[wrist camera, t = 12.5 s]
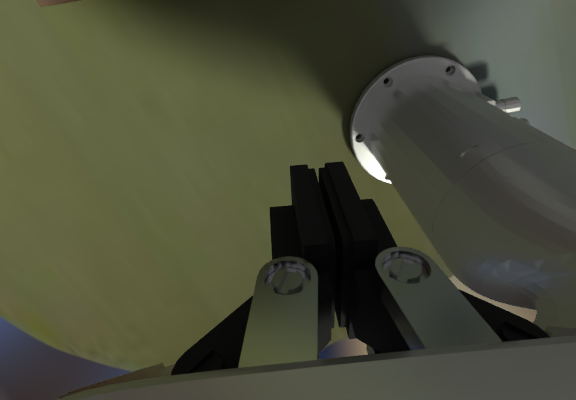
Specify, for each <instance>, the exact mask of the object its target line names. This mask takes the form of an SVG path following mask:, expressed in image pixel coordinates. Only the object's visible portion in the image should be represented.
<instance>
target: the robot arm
mask: <svg viewBox="0 0 576 400" xmlns="http://www.w3.org/2000/svg"><path fill="white" fill-rule="evenodd" d="M447 67H448V70H447V71H446V69H447ZM385 78H387V82H385V83H383V81H384V80H385ZM520 107H521V102H520V100H519V98H518V97H511V98H506V99H501V100H499V101H494V100H493V99H491V98H489V97H487V96H485V95H483V94H482V92H481V88H480V86H479V84H478V82H477V80H476V78H475V77H474V76H473V75H472V74H471V72H470V71H469V70H468V69H467V68H465V67H464V66H462V65H461V64H459V63H458V62H455V61H453V60H451V59H448V58H444V57H440V56H436V55H421V56H416V57H411V58H407V59H405V60H402V61H400V62H397V63H395V64H393V65H392V66H390V67H388V68H387V69H385V70H383V71H382V72H381V73H380V74H379V75H378V76H376V77H375V78H374V79H373V80H372V81H371V82H370V83H369V85H368V86H367V87H366V88H365V89H364V91H363V92H362V94H361V96H360V97H359V99H358V101H357V102H356V105H355V107H354V110H353V113H352V116H351V122H350V127H349V129H350V142H351V147H352V150H353V152H354V154H355V157H356V159H357V160H358V162H359V163H360V165H361V166H362V168H363V169H364V170H365V171H366V172H367V173H368V174H370V175H371V176H373V177H374V178H376V179H378V180H380V181H383V182H385V183H390V184H393V186H394V187H395V189H396V190H397V192H398V193H399V195H400V197H401V198H402V200H403V201H404V203H405V204H406V206H407V207H408V209H409V210H410V212H411V213H412V215H413V216H414V218H415V219H416V221H417V222H418V224H419V225H420V227H421V228H422V230H423V231H424V233H425V234H426V236H427V237H428V239H429V240H430V242H431V243H432V245H433V247H434V248H435V250H436V251H437V253H438V254H439V255H440V257H441V258H442V260H443V261H444V263H445V264H446V266H447V267H448V268H449V269H450V271H451V272H452V273H453V274H454V276H455V277H456V278H457V279H458V280H459V281H461V282H462V283H463V284H464V285H466V286H467V287H468V288H470V289H471V290H473V291H475V292H476V293H478V294H480V295H482V296H485V297H487V298H489V299H492V300H495V301H497V302H501V303H505V304H508V305H512V306H517V307H522V308H527V309H533V310H537V314H536V318H535V320H534V322H533V323H532V322H530V321H528V320H526V319H524V318H522V317H520V316H517V315H515V314H513V313H510V312H508V311H506V310H504V309H502V308H499V307H497V306H495V305H492V304H491V303H488V302H486V301H484V300H482V299H479V298H477V297H474V296H473V295H470V294H468V293H466V292H464V291H461V290H459V289H457V287H456V286H455V285H454V284H453V283H452V282H451V280H450V279H449V278H448V277H447V276H446V275H445V273H444V272H443V271H442V270H441V269H440V268H439V266H438V265H437V264H436V263H435V262H434V260H432V259H431V258H430V257H429V256H428V255H427V254H425V253H423V252H421V251H419V250H416V249H413V248H408V247H397V245H396V243H395V241H394V239H393V237H392V235H391V233H390V231H389V229H388V227H387V225H386V224H385V222H384V220H383V218H382V216H381V214H380V212H379V210H378V208H377V206H376V204H375V202H374V201H373V199H363V200H360V198H359V195H358V193H357V191H356V189H355V187H354V185H353V182H352V180H351V178H350V176H349V174H348V171H347V169H346V167H345V165H344V163H343V162H332V163H325V168H319V183H318V179H317V176H316V173H315V169H314V168H313V169H308V165H294V166H290V177H291V195H292V205H291V206H279V207H270V223H271V243H272V260H271V261H270V262H268V263H266V264H265V265H264V266H263V267H262V268H261V269H260V271H259V273H258V276H257V280H256V284H255V289H254V294H253V296H252V297H251V298H249V299H248V300H247V301H246V302H245V303H243V304H242V305H241V306H240V307H239V308H237V309H236V310H235V311H234V312H233V313H231V314H230V315H229V316H228V317H227V318H225V319H224V320H223V321H222V322H221V323H219V324H218V325H217V326H216V327H215V328H213V329H212V330H211V331H210V332H209V333H207V334H206V335H205V336H204V337H203V338H202V339H200V340H199V341H198V342H197V343H196V344H194V345H193V346H192V347H191V348H190V349H188V350H187V351H186V352H185V353H184V354H183V355H182V356H181V357H180V358H179V359H178V360H177V362H176V364H174V365H170V366H167V367H164V365H163V363H160V364H157V365H154V366H150V367H147V368H144V369H140V370H137V371H134V372H131V373H128V374H124V375H121V376H117V377H115V378H111V379H108V380H104V381H101V382H98V383H94V384H91V385H88V386H85V387H81V388H78V389H75V390H72V391H71V392H68V393H66V394H64V395H62V396H60V397H59V398H58V399H56V400H576V150H575V149H573V148H571V147H569V146H567V145H565V144H563V143H562V142H560V141H558V140H556V139H554V138H552V137H551V136H549V135H547V134H545V133H543V132H541V131H540V130H538V129H536V128H534V127H532V126H531V125H530V124H529V121H528V120H527V119H524V118H521V119H518V118H516V117H514V116H512V115H510V113H516V112H518V111H519V110H520ZM358 134H360V136H359V137H356V136H357V135H358ZM335 312H336V316H337V320H338V324H339V327H346V329H347V333H348V337H349V339H354V338H357V339H359V340H360V341H362V342H364V343H365V344H367V352H368V355H361V356H351V357H340V358H330V359H320V360H319V353H320V352H321V351H322V350H323V349H324V347H325V346H326V345H327V344H328V343H329V342H330V340H331V328H334V313H335Z"/></svg>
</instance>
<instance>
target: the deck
mask: <svg viewBox="0 0 576 400" xmlns="http://www.w3.org/2000/svg"><path fill="white" fill-rule="evenodd" d="M74 1H79V0H37V2H38V4H39V6H40V7H44V6H50V5H56V4H63V3H69V2H74Z"/></svg>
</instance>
